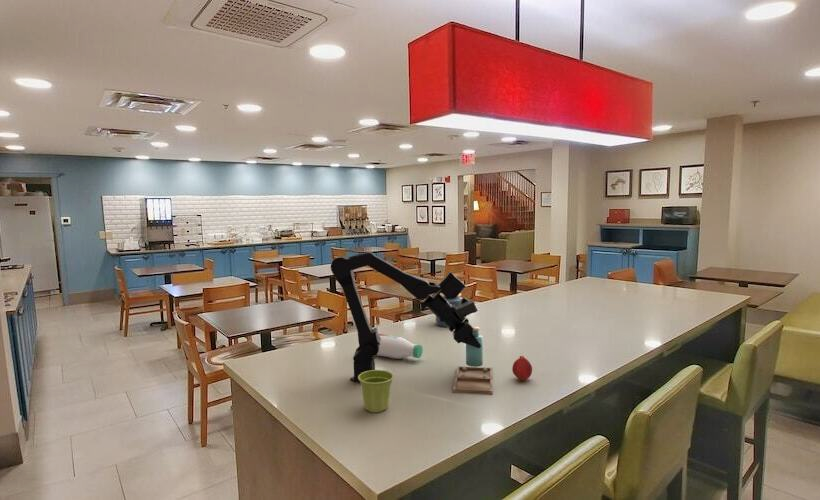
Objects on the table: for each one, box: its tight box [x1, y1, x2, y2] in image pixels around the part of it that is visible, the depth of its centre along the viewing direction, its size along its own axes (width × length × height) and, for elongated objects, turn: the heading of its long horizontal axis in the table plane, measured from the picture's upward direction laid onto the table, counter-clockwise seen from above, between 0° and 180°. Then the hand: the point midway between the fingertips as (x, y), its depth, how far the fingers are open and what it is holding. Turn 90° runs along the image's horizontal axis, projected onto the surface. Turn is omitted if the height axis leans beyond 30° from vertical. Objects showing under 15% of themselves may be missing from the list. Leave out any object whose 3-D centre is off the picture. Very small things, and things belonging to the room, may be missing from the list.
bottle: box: [465, 325, 484, 367], centre depth 137 cm, size 5×5×12 cm
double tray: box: [452, 365, 494, 395], centre depth 133 cm, size 19×11×2 cm, turn 170°
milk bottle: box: [376, 333, 424, 360], centre depth 157 cm, size 8×8×20 cm
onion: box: [511, 354, 533, 381], centre depth 133 cm, size 6×6×8 cm
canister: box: [435, 292, 464, 328], centre depth 203 cm, size 13×13×18 cm
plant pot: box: [358, 369, 395, 413], centre depth 116 cm, size 9×9×9 cm
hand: (478, 344), depth 137 cm, fingers closed on bottle, 5 cm apart
